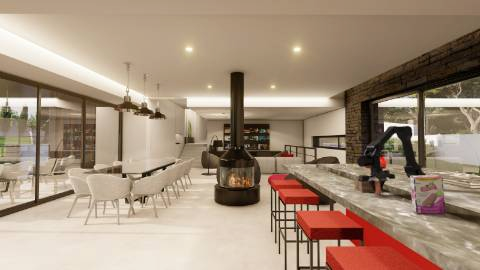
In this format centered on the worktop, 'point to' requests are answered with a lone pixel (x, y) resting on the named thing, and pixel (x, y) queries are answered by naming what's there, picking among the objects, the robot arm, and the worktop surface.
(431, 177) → the candy bar box
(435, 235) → the worktop surface
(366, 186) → the bored tray
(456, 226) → the worktop surface
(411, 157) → the robot arm
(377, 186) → the peg
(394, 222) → the worktop surface
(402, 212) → the worktop surface
